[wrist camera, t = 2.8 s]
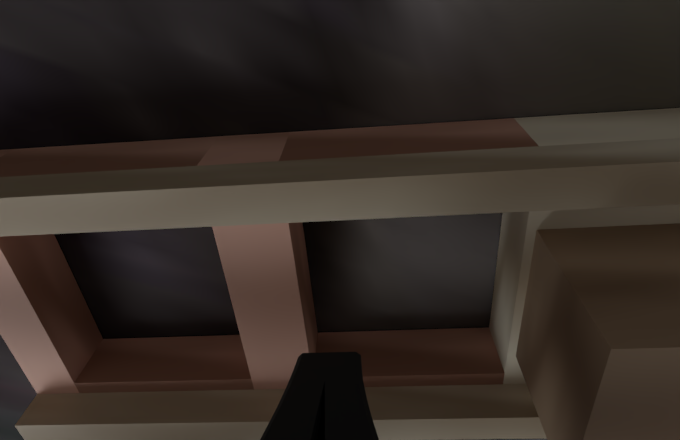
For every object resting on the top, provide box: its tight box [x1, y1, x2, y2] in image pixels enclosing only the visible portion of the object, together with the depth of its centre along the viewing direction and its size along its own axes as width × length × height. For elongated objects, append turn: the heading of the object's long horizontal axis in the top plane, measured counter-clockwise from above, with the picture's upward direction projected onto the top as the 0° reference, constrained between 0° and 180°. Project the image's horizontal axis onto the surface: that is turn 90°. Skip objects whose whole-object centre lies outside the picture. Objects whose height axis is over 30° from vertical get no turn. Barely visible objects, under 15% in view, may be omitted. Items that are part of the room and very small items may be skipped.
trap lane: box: [0, 108, 680, 440], centre depth 13 cm, size 9×30×4 cm, turn 94°
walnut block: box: [516, 223, 680, 440], centre depth 11 cm, size 4×4×4 cm
